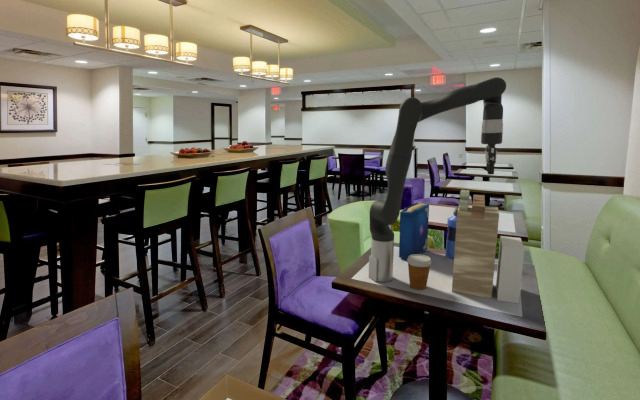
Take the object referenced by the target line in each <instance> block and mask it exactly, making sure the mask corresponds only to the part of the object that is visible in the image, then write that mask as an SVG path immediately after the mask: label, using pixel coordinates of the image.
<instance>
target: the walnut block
mask: <svg viewBox="0 0 640 400" xmlns="http://www.w3.org/2000/svg"><path fill="white" fill-rule="evenodd" d="M472 197H473V198H472V215H471V218H477V219H484V213H485V206H486V203H485V202H486V199H485V197H486V196H485V194H473V196H472Z"/></svg>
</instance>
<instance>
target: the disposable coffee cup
mask: <svg viewBox="0 0 640 400" xmlns="http://www.w3.org/2000/svg"><path fill="white" fill-rule="evenodd" d="M406 262H407V266H408V277H409V287H410V288H411V289H413V290H420V291H421V290H425V289H426V288H427V285H428V278H429V273H430V269H431V265H432V263H433V262H432V260H431V257H430V256H428V255H425V254H420V255H419V254H414V255H410V256H409V257H408V259H407V260H406Z"/></svg>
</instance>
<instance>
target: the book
mask: <svg viewBox="0 0 640 400" xmlns="http://www.w3.org/2000/svg"><path fill="white" fill-rule="evenodd" d="M429 213H430V204H429V203H427V204H425V203H424V202H422V203H419V202H416V203H412V204H411V205H408V206H407V207H404V209H403V210H400V213H399V243H398V244H399V245H398V246H399V249H398V250H399V251H398V258H400V259H402V260H405V261H407V259H408V257H409V256H410V255H414V254H419V255H422V254H423V253H424V252H425V251H426V250H428V242H429V239H428V236H429V218H430V214H429Z"/></svg>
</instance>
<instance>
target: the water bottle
mask: <svg viewBox="0 0 640 400" xmlns="http://www.w3.org/2000/svg"><path fill="white" fill-rule="evenodd" d="M458 208H459V206H456V207H454V209H453V210H454V211H453V214H452V216H449V217H447V224H446V225H447V234H446V235H447V237H446V244H445V257H446V258H447V257H448V258H447V259H450V258H451V259H450V260H454V253H455V239H456V224H457V211H458Z"/></svg>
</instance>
